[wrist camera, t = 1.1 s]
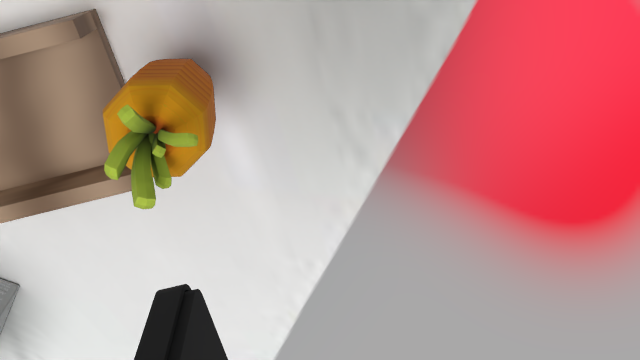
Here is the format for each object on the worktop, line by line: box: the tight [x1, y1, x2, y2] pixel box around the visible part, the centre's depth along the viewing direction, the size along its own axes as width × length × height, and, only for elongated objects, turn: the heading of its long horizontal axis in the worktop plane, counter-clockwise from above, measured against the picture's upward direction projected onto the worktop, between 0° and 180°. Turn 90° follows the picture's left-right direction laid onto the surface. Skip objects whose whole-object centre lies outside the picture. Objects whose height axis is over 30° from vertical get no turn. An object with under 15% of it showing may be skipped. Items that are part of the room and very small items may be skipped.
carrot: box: [103, 59, 216, 209], centre depth 28 cm, size 5×5×15 cm
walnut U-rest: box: [0, 9, 132, 223], centre depth 33 cm, size 12×10×4 cm
